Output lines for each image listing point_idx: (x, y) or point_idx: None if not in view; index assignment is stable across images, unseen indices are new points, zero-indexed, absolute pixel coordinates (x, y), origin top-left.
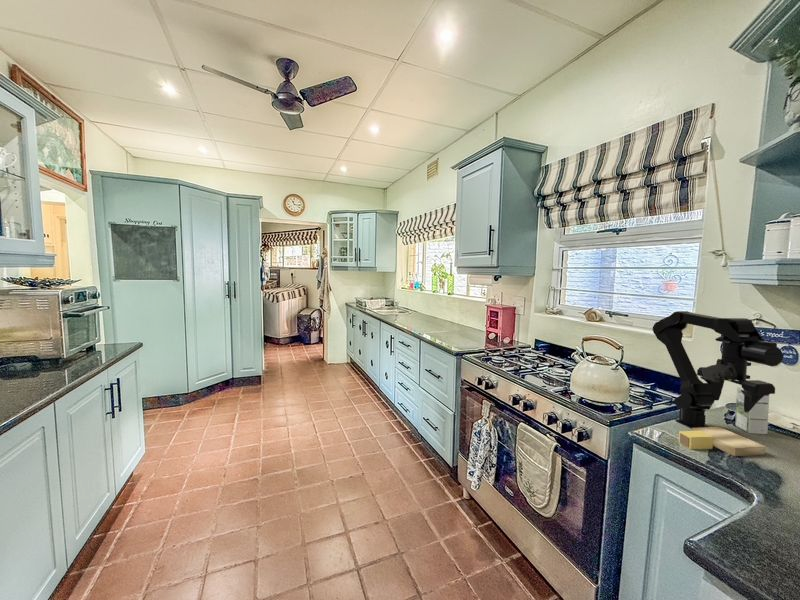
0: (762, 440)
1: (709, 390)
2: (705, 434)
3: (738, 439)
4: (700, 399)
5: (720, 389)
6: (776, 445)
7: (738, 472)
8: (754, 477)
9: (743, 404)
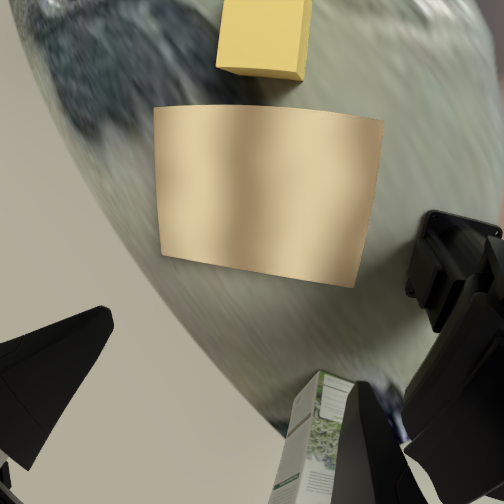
0: (267, 350)
1: (438, 460)
2: (245, 50)
3: (222, 220)
4: (463, 333)
5: (336, 499)
6: (232, 347)
7: (101, 26)
8: (80, 51)
9: (333, 462)
